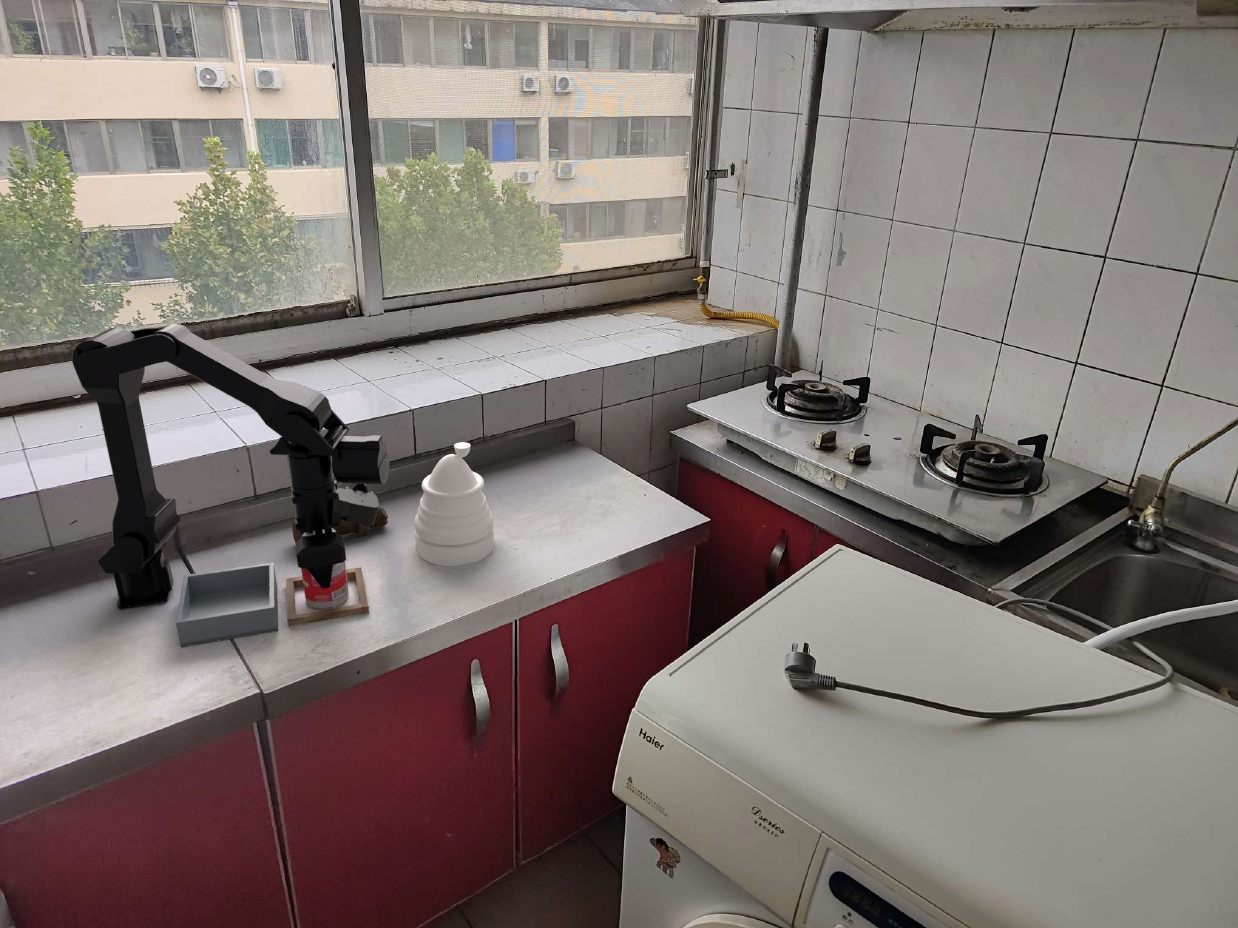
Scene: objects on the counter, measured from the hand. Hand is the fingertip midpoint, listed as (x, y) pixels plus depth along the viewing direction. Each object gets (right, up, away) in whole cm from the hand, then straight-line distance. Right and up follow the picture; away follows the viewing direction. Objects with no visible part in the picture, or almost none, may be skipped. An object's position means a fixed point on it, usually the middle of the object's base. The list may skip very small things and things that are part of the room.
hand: (324, 575), depth 122 cm
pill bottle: (0, -4, +2) cm, 4 cm away
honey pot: (+16, +3, +17) cm, 24 cm away
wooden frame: (0, -4, +2) cm, 4 cm away
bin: (-12, -5, -3) cm, 14 cm away
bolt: (-3, +4, +18) cm, 19 cm away
